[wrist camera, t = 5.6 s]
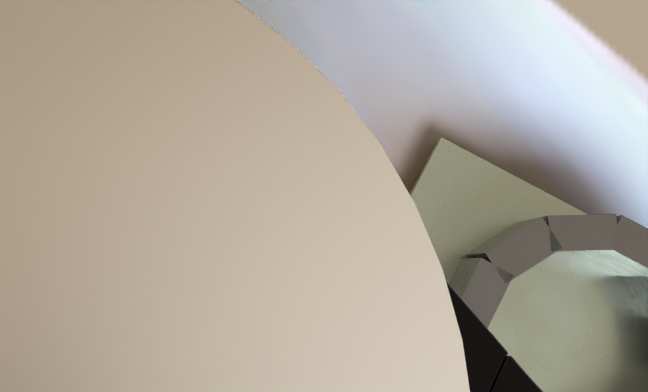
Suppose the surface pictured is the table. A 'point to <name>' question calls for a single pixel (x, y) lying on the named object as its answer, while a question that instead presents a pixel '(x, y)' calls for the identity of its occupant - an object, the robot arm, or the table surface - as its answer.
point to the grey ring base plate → (540, 273)
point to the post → (201, 214)
